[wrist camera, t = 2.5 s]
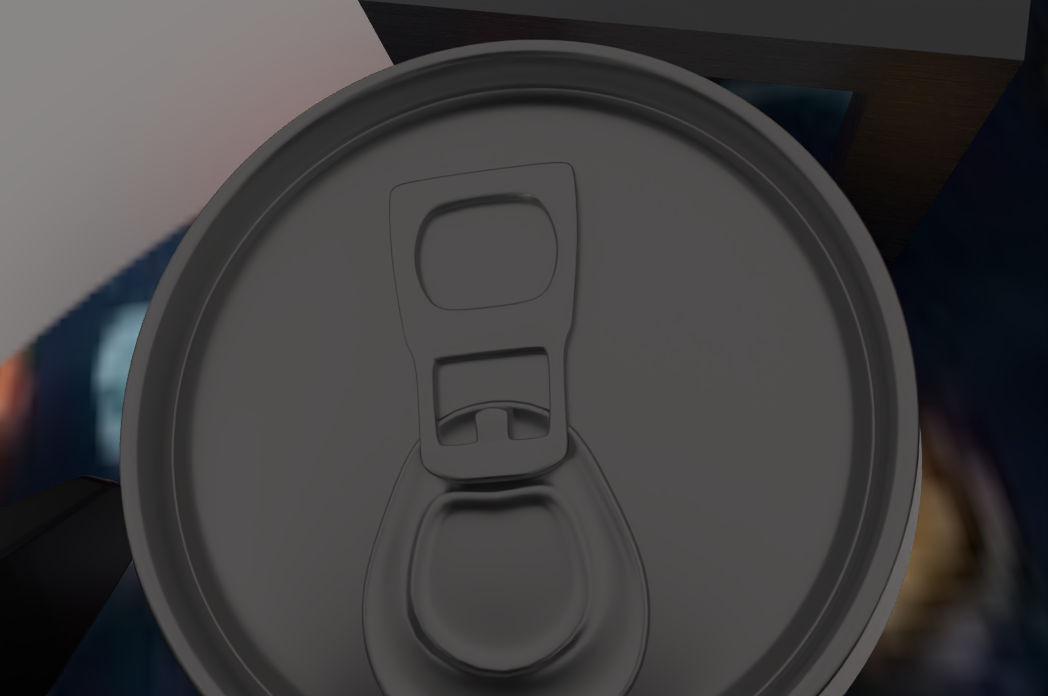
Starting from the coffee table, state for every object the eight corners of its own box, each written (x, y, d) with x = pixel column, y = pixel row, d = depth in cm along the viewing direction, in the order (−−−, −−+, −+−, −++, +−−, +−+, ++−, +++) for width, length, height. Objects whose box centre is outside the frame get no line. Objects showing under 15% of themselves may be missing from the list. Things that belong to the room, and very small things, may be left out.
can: (466, 699, 17) (17, 929, 5) (455, 381, 19) (99, 58, 7) (806, 685, 16) (1117, 932, 4) (759, 349, 18) (896, -81, 6)
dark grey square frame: (877, 288, 18) (1023, 60, 10) (484, 228, 19) (358, -1, 12) (886, 221, 18) (1035, -49, 10) (499, 168, 20) (386, -91, 12)
